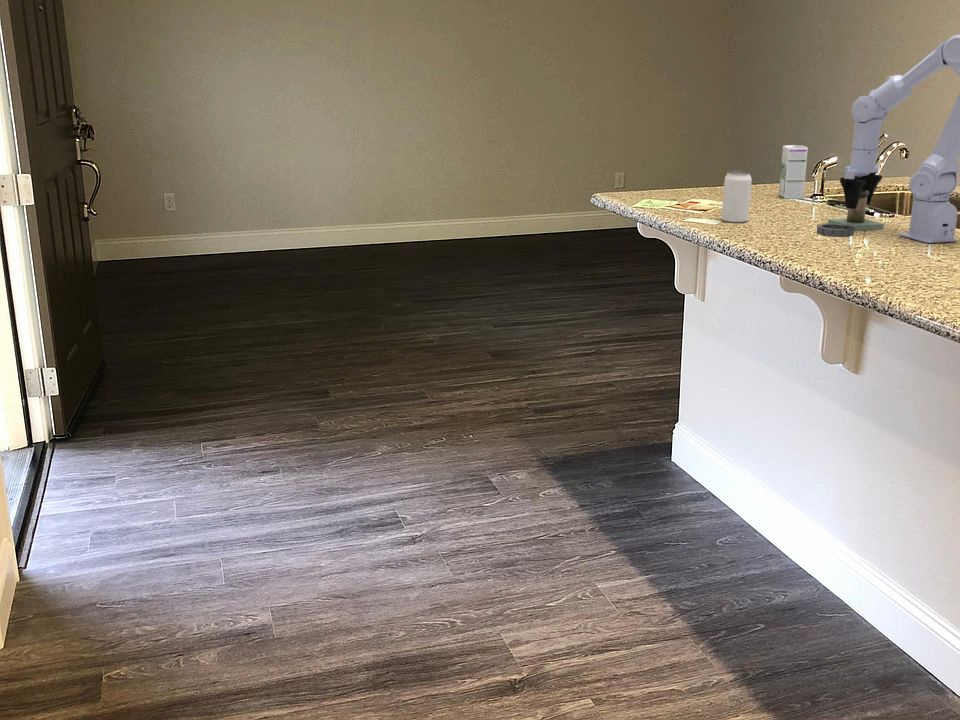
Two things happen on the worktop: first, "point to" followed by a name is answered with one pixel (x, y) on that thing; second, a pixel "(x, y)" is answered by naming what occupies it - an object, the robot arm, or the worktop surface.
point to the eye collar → (835, 230)
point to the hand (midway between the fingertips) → (857, 206)
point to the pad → (858, 224)
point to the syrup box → (793, 172)
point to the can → (736, 197)
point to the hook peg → (858, 209)
